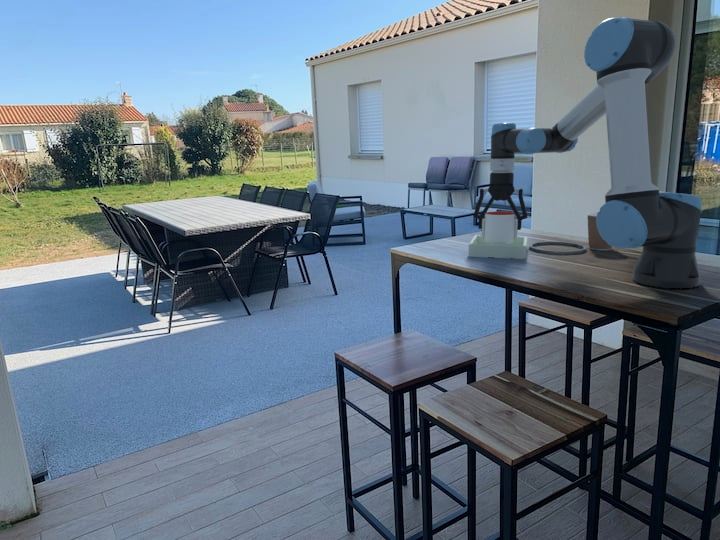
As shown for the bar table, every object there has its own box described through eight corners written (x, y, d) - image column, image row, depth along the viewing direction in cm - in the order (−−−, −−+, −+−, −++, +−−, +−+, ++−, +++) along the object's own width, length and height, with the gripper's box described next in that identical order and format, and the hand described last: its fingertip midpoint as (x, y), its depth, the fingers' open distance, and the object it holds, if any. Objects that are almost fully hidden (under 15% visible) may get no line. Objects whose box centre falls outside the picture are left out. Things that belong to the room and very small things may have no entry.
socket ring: (588, 255, 166) (588, 252, 166) (528, 253, 172) (528, 250, 171) (583, 245, 183) (584, 242, 182) (529, 243, 189) (529, 240, 188)
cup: (512, 240, 177) (513, 211, 175) (516, 245, 168) (517, 215, 165) (482, 239, 179) (483, 211, 176) (485, 245, 169) (486, 215, 167)
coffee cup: (607, 252, 169) (611, 216, 167) (578, 248, 177) (580, 214, 174) (622, 248, 176) (625, 213, 173) (592, 244, 183) (595, 211, 181)
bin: (525, 259, 163) (526, 246, 162) (468, 256, 169) (468, 244, 168) (526, 248, 179) (527, 236, 178) (474, 246, 185) (474, 235, 184)
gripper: (465, 172, 168) (463, 239, 173) (538, 172, 161) (534, 242, 166) (468, 171, 175) (466, 236, 180) (538, 171, 168) (534, 238, 173)
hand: (499, 238), depth 173 cm, fingers closed on cup, 10 cm apart
